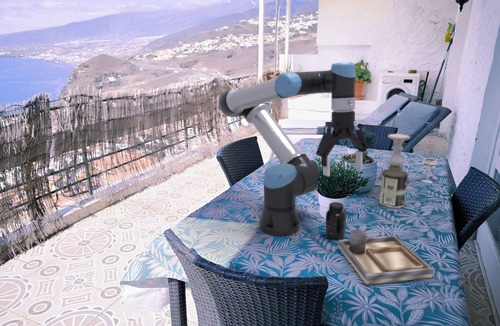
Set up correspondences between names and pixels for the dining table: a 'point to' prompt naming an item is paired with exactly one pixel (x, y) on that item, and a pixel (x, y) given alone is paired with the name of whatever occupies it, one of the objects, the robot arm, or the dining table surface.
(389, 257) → the board
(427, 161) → the wineglass
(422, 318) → the dining table surface
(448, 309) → the dining table surface
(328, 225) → the supplement bottle
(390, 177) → the coffee can
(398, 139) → the candle holder
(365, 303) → the dining table surface
